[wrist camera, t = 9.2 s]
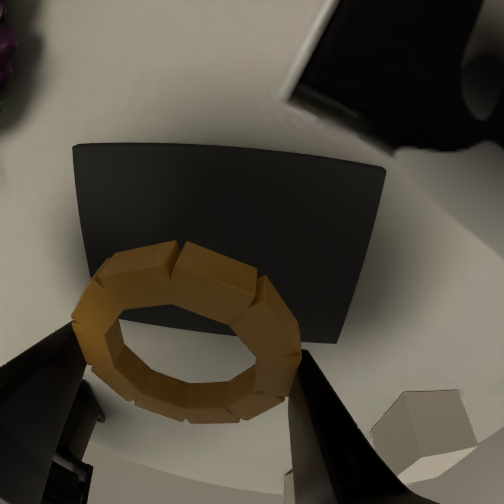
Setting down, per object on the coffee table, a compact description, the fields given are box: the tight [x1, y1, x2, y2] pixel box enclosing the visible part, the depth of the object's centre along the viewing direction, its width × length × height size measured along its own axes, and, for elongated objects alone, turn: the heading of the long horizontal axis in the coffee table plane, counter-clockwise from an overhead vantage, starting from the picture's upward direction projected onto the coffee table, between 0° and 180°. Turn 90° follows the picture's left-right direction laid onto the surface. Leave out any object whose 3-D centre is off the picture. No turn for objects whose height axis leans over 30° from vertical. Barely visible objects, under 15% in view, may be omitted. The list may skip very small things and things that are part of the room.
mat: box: [72, 143, 386, 344], centre depth 15 cm, size 14×10×1 cm
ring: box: [71, 241, 302, 424], centre depth 9 cm, size 7×7×1 cm
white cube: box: [371, 390, 478, 484], centre depth 19 cm, size 6×6×6 cm
